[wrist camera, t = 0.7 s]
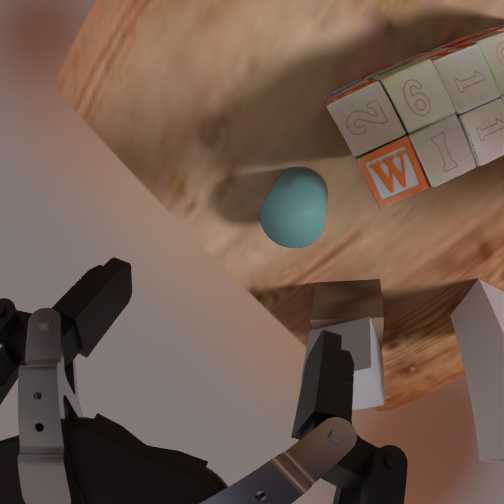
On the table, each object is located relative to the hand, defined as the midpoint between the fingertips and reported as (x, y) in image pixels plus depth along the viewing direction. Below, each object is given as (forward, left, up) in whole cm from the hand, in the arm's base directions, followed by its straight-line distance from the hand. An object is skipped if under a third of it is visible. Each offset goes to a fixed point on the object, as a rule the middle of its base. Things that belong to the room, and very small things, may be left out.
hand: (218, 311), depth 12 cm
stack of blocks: (-14, -10, -20) cm, 26 cm away
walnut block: (-7, +15, -19) cm, 26 cm away
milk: (-24, +14, -20) cm, 33 cm away
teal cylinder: (-1, +2, -19) cm, 19 cm away
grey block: (-7, +15, -13) cm, 22 cm away
